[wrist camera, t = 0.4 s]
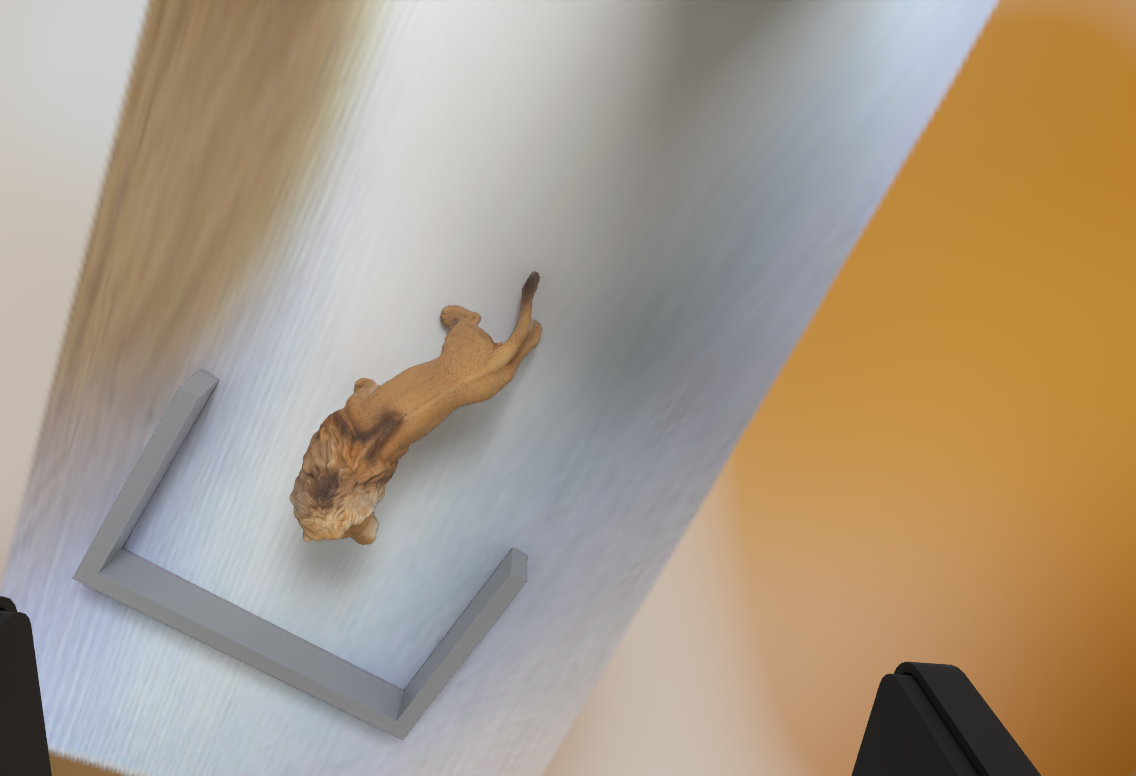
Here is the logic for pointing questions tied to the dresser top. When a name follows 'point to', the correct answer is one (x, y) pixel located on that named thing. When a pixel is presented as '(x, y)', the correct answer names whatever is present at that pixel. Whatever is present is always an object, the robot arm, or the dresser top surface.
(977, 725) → the robot arm
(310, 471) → the lion figurine
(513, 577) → the box
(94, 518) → the dresser top surface
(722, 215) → the dresser top surface
